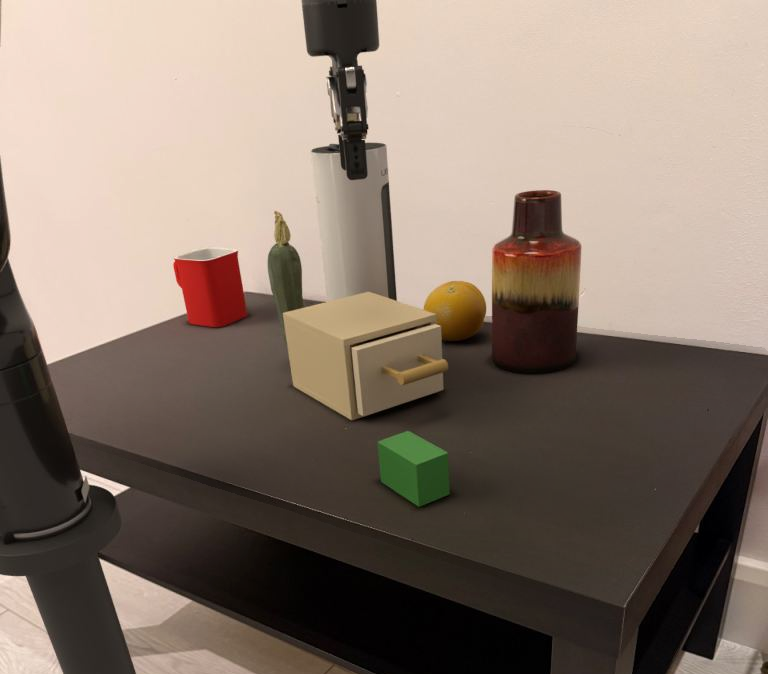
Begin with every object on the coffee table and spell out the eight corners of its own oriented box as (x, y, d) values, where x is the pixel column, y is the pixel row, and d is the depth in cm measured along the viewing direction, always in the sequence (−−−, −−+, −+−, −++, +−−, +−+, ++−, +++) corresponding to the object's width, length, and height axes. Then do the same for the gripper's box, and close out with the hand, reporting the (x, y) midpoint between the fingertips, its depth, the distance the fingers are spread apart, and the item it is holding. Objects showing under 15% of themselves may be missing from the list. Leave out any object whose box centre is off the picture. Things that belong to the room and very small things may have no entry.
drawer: (468, 401, 88) (467, 335, 84) (386, 429, 83) (380, 361, 79) (381, 361, 102) (377, 303, 98) (306, 384, 97) (298, 323, 93)
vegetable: (312, 369, 104) (292, 213, 94) (280, 371, 104) (257, 216, 94) (315, 358, 108) (295, 207, 97) (284, 360, 108) (261, 210, 98)
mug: (253, 314, 129) (242, 249, 124) (219, 329, 123) (206, 261, 118) (202, 308, 135) (189, 245, 130) (167, 321, 129) (152, 256, 124)
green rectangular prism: (450, 494, 72) (448, 452, 70) (418, 507, 70) (416, 464, 68) (410, 470, 77) (408, 430, 74) (380, 481, 75) (377, 441, 73)
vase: (509, 342, 107) (510, 186, 97) (585, 349, 103) (595, 186, 92) (479, 368, 99) (477, 201, 89) (561, 378, 95) (569, 202, 84)
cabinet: (439, 391, 94) (436, 314, 89) (351, 420, 88) (343, 339, 83) (374, 362, 105) (368, 291, 100) (293, 386, 99) (282, 312, 94)
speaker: (388, 345, 110) (374, 145, 97) (320, 344, 113) (296, 149, 99) (406, 322, 119) (394, 136, 105) (342, 322, 121) (323, 140, 108)
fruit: (424, 349, 107) (421, 292, 103) (425, 331, 114) (422, 277, 110) (488, 346, 107) (487, 288, 102) (485, 328, 113) (484, 273, 109)
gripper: (299, 7, 83) (317, 169, 91) (303, -3, 71) (323, 186, 79) (368, 1, 83) (380, 163, 92) (384, -10, 71) (395, 179, 79)
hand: (354, 174), depth 85 cm, fingers open, 8 cm apart
